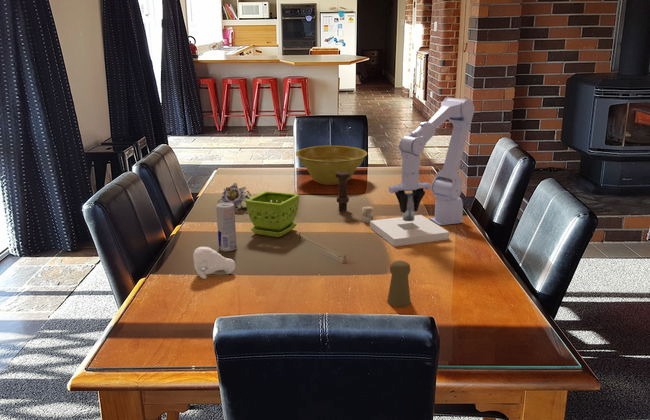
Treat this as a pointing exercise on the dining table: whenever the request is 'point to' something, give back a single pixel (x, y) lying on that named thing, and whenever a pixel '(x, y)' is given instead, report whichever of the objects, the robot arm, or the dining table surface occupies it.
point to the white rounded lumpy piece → (211, 262)
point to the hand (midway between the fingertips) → (409, 211)
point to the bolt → (342, 190)
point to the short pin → (367, 214)
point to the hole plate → (409, 230)
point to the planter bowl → (330, 161)
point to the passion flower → (234, 195)
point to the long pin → (409, 207)
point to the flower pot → (273, 213)
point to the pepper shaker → (399, 284)
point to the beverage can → (226, 226)
